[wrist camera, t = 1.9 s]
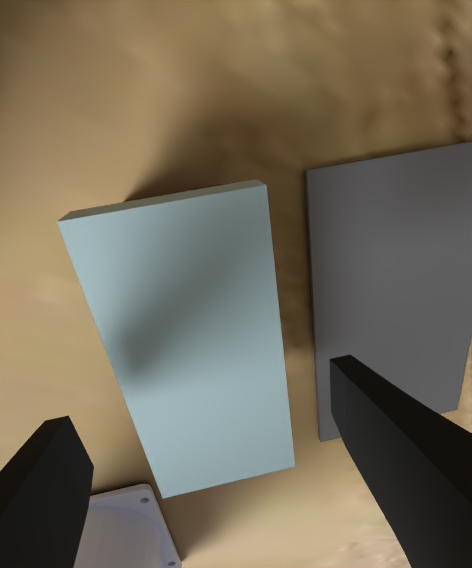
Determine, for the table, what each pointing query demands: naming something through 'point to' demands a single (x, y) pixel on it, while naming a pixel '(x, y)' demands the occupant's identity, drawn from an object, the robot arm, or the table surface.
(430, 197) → the mat
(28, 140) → the table surface
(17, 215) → the table surface
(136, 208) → the lid
